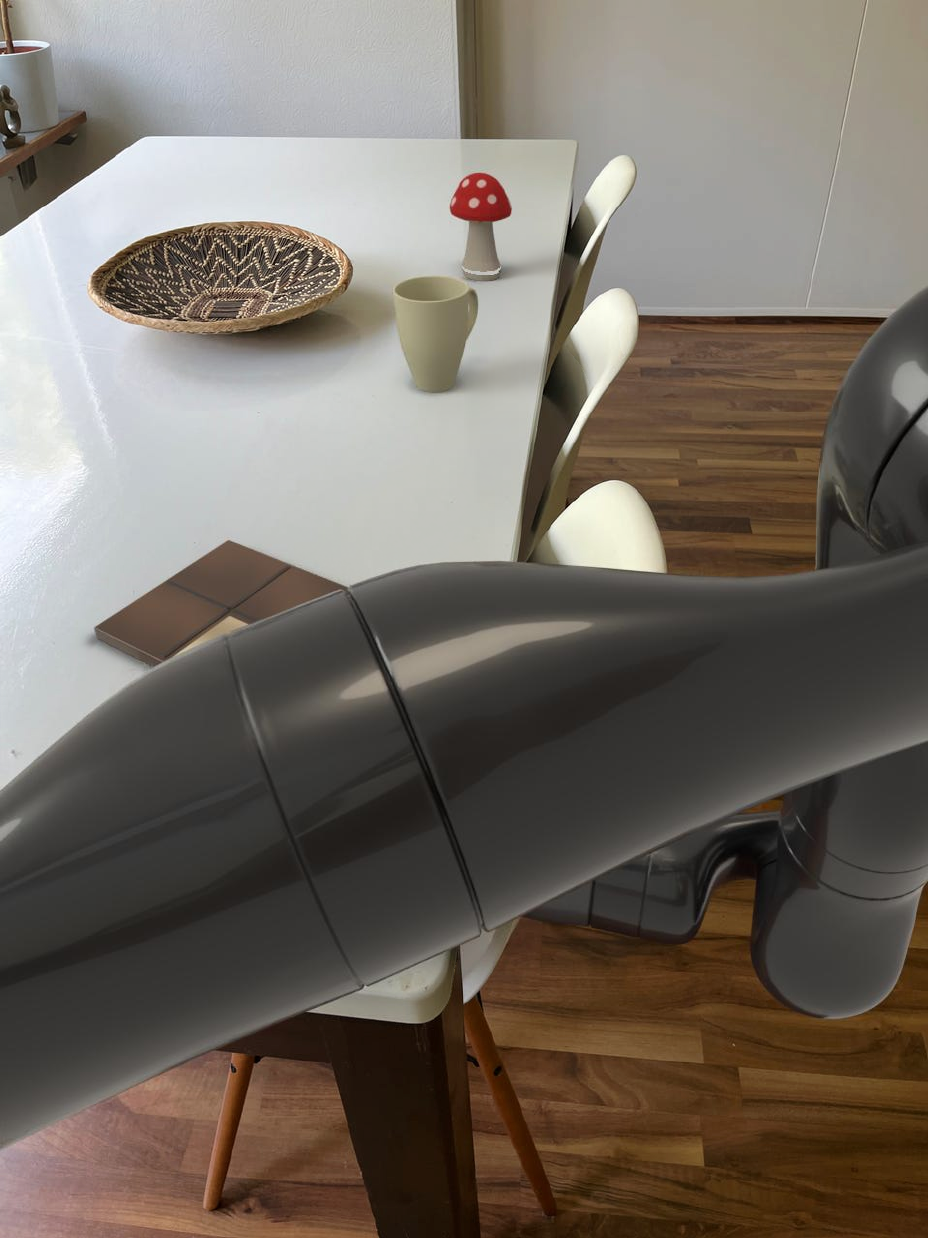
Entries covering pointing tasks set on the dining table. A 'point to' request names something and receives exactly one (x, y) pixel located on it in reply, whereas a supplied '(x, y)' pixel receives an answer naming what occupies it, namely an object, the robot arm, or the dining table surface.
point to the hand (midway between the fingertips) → (261, 792)
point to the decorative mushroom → (480, 221)
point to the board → (210, 602)
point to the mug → (434, 327)
